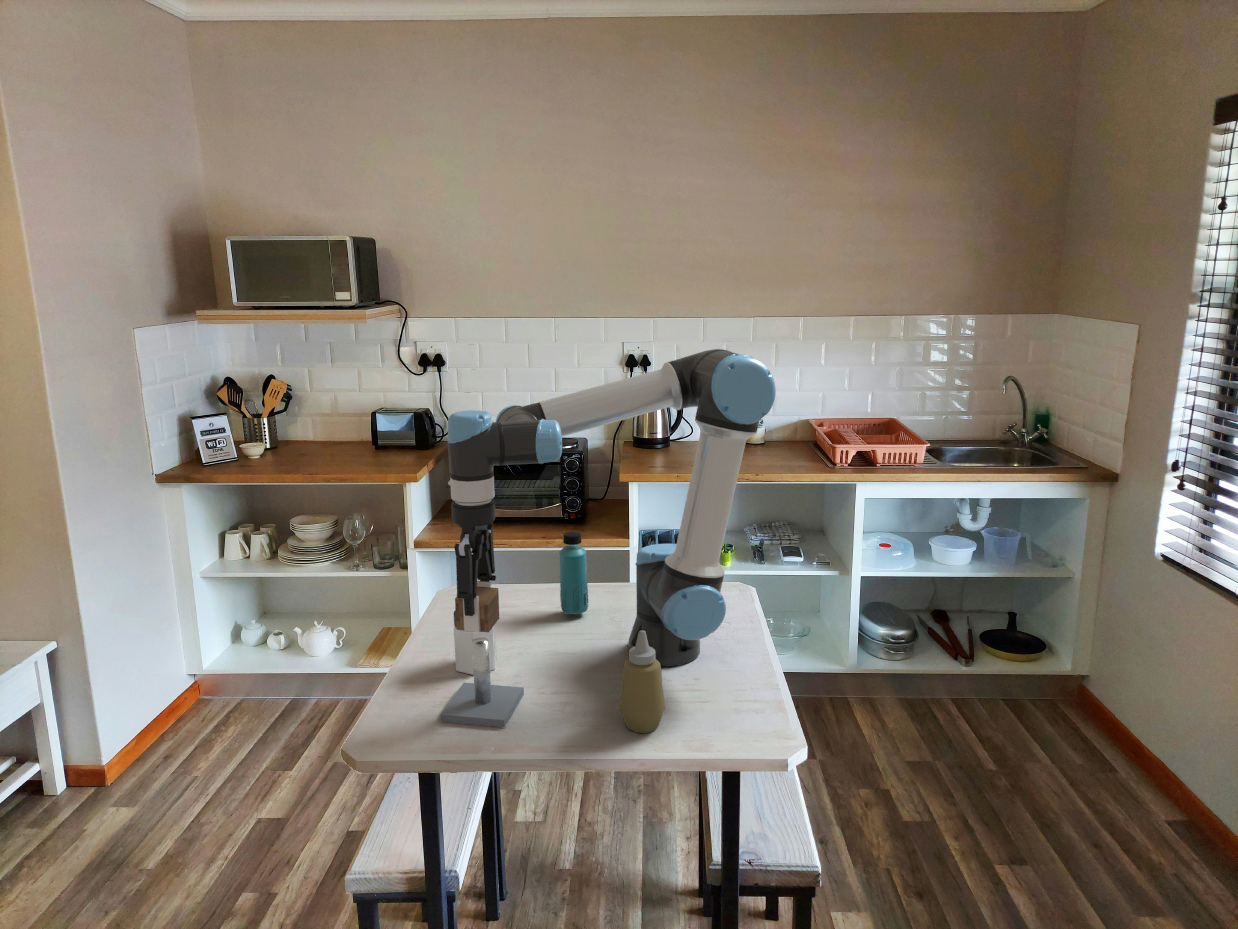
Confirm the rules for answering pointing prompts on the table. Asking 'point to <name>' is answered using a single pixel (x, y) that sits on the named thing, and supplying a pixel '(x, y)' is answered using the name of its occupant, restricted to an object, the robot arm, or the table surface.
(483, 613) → the brown wooden cube
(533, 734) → the table surface
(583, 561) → the beverage bottle
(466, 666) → the jar
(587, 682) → the table surface
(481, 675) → the post
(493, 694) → the base plate
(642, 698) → the squeeze bottle
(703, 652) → the table surface
